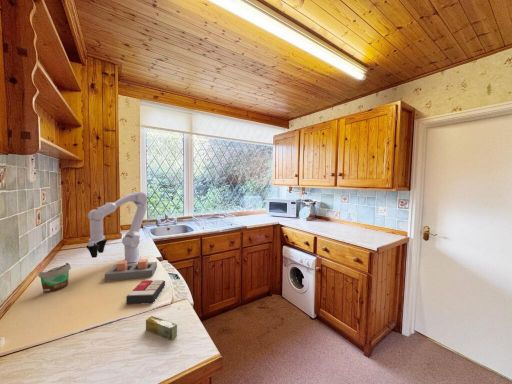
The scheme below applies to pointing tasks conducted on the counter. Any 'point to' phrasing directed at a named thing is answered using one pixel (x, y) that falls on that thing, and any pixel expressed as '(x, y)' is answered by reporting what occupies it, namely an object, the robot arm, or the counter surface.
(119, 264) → the plug
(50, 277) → the food container
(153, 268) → the dock
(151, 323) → the medication box
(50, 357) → the counter surface
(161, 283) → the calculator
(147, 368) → the counter surface
